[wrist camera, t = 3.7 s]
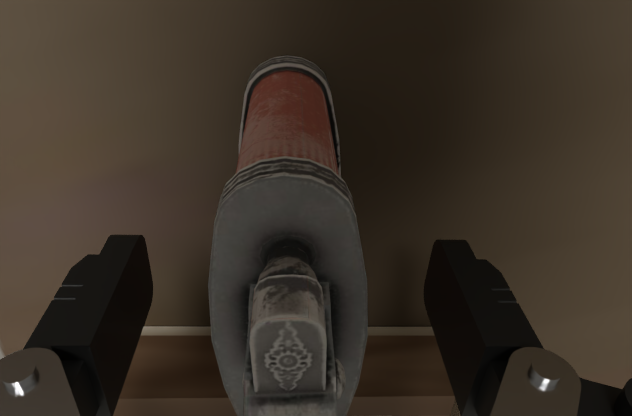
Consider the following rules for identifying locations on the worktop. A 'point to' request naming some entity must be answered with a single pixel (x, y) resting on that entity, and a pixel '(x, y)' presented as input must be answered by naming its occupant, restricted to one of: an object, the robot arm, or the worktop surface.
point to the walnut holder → (216, 408)
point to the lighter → (288, 254)
